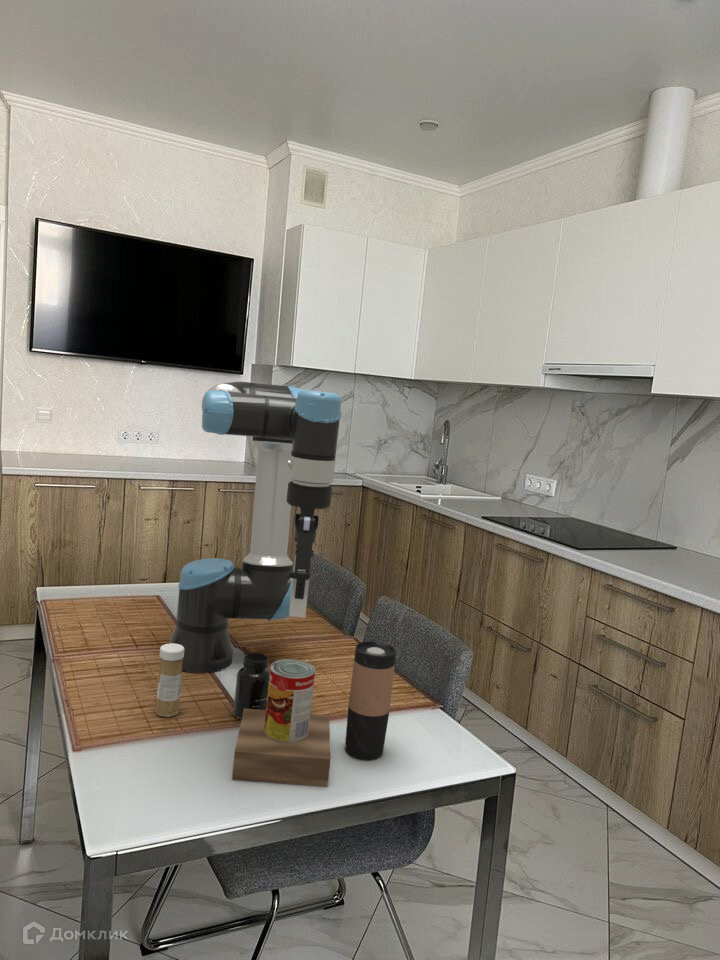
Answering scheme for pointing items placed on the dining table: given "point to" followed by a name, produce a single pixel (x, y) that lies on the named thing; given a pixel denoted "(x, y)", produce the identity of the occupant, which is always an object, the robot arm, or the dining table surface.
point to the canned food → (289, 700)
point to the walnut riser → (282, 753)
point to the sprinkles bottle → (169, 679)
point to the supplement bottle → (252, 684)
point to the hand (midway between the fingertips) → (298, 603)
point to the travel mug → (369, 700)
